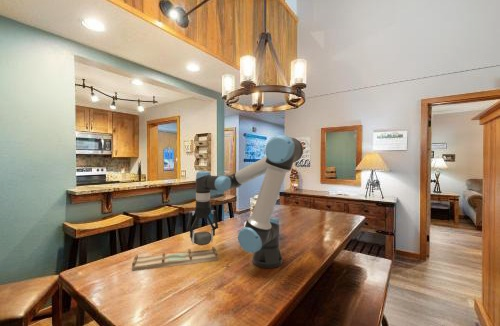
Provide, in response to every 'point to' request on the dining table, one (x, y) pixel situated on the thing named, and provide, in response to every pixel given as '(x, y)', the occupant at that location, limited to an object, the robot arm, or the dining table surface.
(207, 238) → the stone
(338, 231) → the dining table surface
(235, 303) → the dining table surface
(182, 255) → the ledge
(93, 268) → the dining table surface
